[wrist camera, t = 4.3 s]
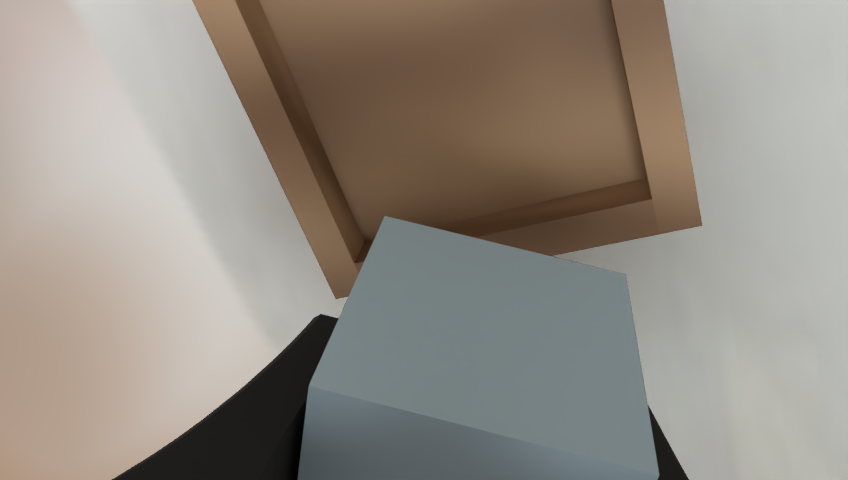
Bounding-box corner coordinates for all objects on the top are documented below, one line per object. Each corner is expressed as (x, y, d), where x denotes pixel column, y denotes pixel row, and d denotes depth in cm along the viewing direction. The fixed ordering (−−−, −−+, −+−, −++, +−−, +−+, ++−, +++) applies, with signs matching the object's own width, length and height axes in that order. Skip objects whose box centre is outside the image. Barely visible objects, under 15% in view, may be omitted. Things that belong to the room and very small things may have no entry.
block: (555, 440, 14) (556, 656, 11) (354, 389, 15) (285, 582, 11) (626, 274, 12) (659, 475, 8) (384, 216, 12) (308, 385, 8)
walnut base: (681, 170, 19) (701, 225, 16) (362, 242, 22) (336, 298, 19) (608, -234, 15) (619, -252, 12) (224, -75, 18) (163, -60, 15)
